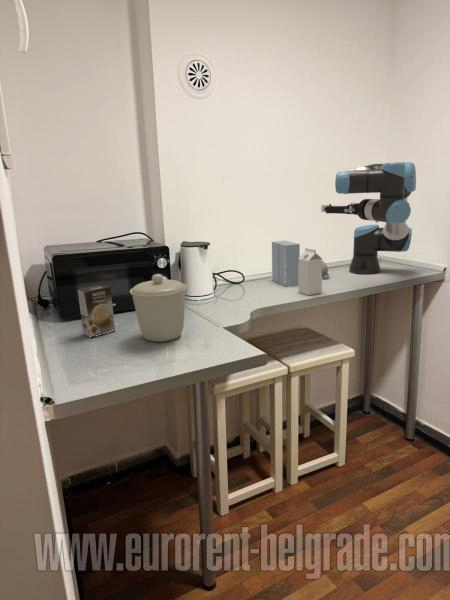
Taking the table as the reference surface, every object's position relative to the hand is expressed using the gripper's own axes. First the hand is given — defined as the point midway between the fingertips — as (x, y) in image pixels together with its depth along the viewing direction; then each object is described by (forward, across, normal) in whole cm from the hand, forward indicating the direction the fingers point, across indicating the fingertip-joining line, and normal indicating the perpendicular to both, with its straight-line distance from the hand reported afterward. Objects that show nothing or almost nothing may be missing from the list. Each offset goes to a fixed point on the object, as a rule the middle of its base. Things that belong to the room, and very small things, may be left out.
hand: (336, 207), depth 173 cm
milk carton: (+7, -8, -36) cm, 38 cm away
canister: (-16, -78, -36) cm, 88 cm away
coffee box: (-2, -97, -36) cm, 104 cm away
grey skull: (+29, +11, -36) cm, 48 cm away
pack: (+28, -8, -36) cm, 46 cm away
